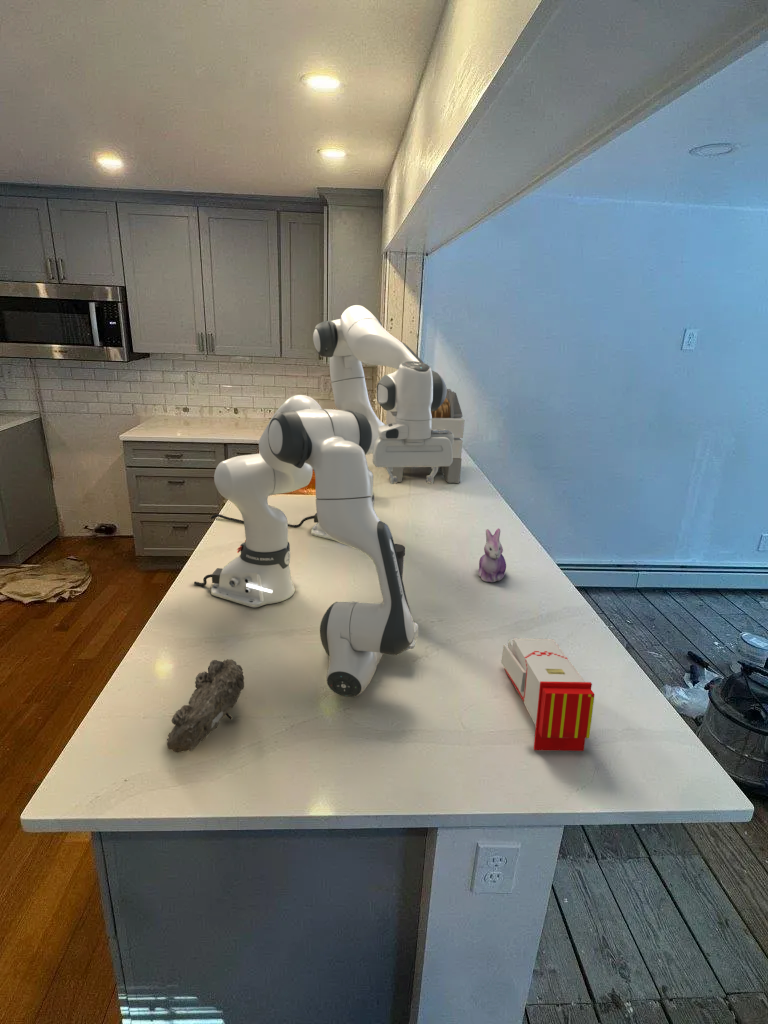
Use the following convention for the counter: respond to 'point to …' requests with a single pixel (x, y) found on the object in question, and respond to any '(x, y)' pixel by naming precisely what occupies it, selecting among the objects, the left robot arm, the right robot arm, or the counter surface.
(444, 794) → the counter surface
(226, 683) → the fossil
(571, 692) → the toy
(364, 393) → the right robot arm
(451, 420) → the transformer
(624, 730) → the counter surface
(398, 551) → the lid
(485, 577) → the figurine
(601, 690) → the counter surface
